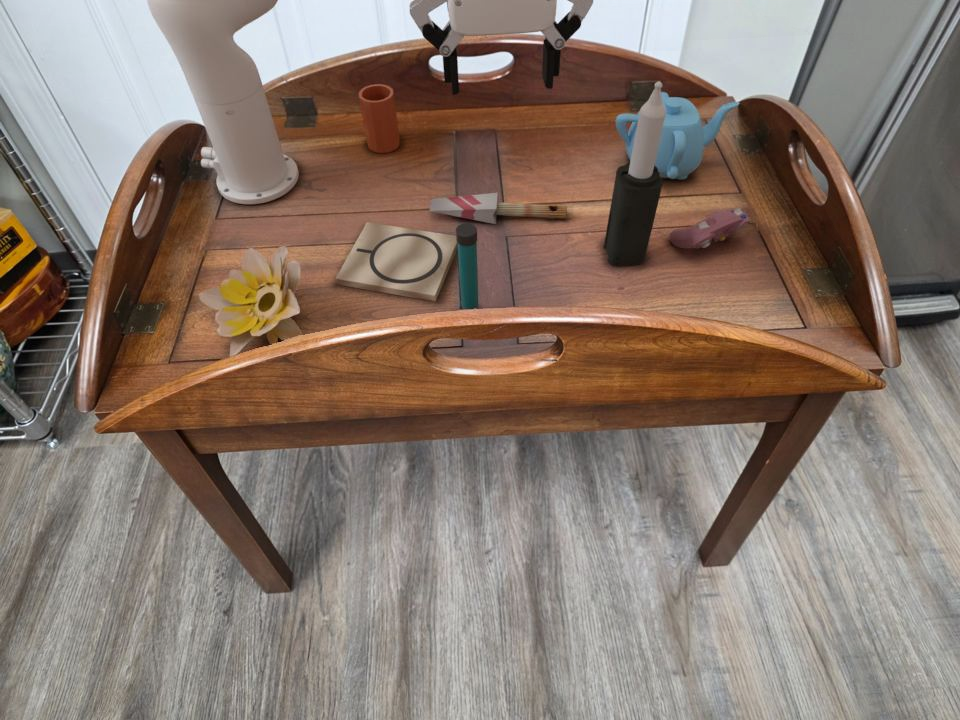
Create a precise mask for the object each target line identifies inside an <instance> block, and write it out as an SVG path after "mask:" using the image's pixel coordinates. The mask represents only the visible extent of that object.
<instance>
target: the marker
mask: <svg viewBox="0 0 960 720" xmlns="http://www.w3.org/2000/svg"><path fill="white" fill-rule="evenodd" d="M455 236H456V240H457V243H458V248H457V257H458V273H459V288H460V304H461V309H462V310H463V309H474V308H477V309H479V305H480V304H479V303H480V302H479V278H478V277H479V276H478V275H479V274H478V246H477V244H478V243H477V242H478V228H477V226H476V225H475V224H473V223H470V222H463V223H461V224H459V225H457V227H456V228H455Z"/></svg>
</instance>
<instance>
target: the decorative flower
mask: <svg viewBox="0 0 960 720" xmlns="http://www.w3.org/2000/svg"><path fill="white" fill-rule="evenodd" d="M288 254H289V250H288V247H287V246H285V245H280V246H278V247H277V249H276V250H275V251H274V252H273V254H272V255H271V259H270V261H269V263H268V260H267V259H266V258H265V257H264V256H263V255H262V254H261V253H259V251H257V250H256V249H255V248H253V247H249V248H248V249H247V250H246V252H245V253H244V254H243V255H242V258H241V263H240V265H241V269H237V268H236V269H234V268H232V269H231V270H230V271H229V273H228V278H225V279H224V280H223V281H222V282H220V284H219V286H216V287H213V288H210V289H206V290H204V291H201V292H199V293H198V297H199V301H200V302H202V303H203V305H205V306H207V307H209V308H211V309H213V310H215V311H217V312H216V313H215V318H214V322H215V323H216V324H217V325H218V327H217V329H216V332H217V334H218V336H219V337H225V338H226V337H230V345H229V346H230V347H229V358H230V357H231V356H233V355H236V354H237V355H239V353H241V352H242V351H243V350H244V349H245V348H246V347H247V346H248V345H249V344H250V343H251V341H252V340H253V339H254V338H255V337H260V336H262V335H264V334H265V335H266V338H267V341H268V343H269V344H270V345H271V344H272V343H275V342H277V343H278V340H279V339H280V340H281V341H284V340H285V339H288V338H292V337H295V336H298V335H302V334H303V332H302V330H301V328H300V327H299V326H298V324H297V323H296V321H295V320H293V318H291V317H293V316H296V315H298V314H300V312H301V309H300V305H299V302H298V299H297V297H298V296H297V295H295V294H294V293H296V290H297V289H298V286H299V284H300V281H301V280H300V279H301V265H300V262H298V261H296V260H295V259H293V260H290V261H289V262H288V263H286V261H287V257H288ZM237 355H236V356H237Z"/></svg>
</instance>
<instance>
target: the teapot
mask: <svg viewBox="0 0 960 720" xmlns="http://www.w3.org/2000/svg"><path fill="white" fill-rule="evenodd" d="M661 96H662V103H663V105H664V107H665V109H666V115H665V120H664V124H663V129H662V133H661V138H660V142H659V147H658V151H657V156H656V160H655V166H656V167H657V168H658V172H659V173H660V174H659V175H660V177H661V179H672V180H675V179H677V180H685V179H688V176H689V175H690V174H691V173H693V172H694V171H695V170H696V169H697V168H699V166H700V165H701V163H702V159H703V156H704V148H706V147H707V146H709V145H711V144H712V143H713V141H715V139H716V138H717V136H718V135H719V132H720V131H721V127H722V124H723V123H724V119H725V118H726V116H727V115H728V113H729V112H731V111H732V110H733V109H735V108H736V107H738V106H739V105H740V101H730V102H727V103H725V104H722V106H720V107H719V108H718V110H716V112H715V114H714V115H713V117H711V118H712V119H710V121H708V123H707V124H705V125H703V124H702V120H701V116H700V113H699V110H698V108H697V107H696V106H695V105H694V103H692V102H691V101H690V100H689V99H686V98H684V97H678V96H669V94H668V93H667V92H665V91H661ZM639 113H640V110H638V112H637V113H625V112H624V113H620V114H618V115H617V116H616V118H615V128H616V130H617V132H618V134H619V135H620V137H621V139H622V140H623V141H624V143H625V150H626V155H627V157H628V158H629V160H630V161H631V156H632V150H633V145H634V140H635V135H636V129H637V124H638V119H639ZM627 123H631V124H630V126H629V129H628V130H627ZM630 161H629V162H630Z"/></svg>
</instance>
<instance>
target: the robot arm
mask: <svg viewBox="0 0 960 720" xmlns="http://www.w3.org/2000/svg"><path fill="white" fill-rule="evenodd" d="M278 1H279V0H146V2H147V6H148V9H149V11H150V14H151V15H152V18H153V19H154V21H155V23H156V25H157V27H158V28H159V30H160V31H161V33H162V35H163V36H164V38H165V40H166V41H167V43H168V45H169V46H170V48H171V50H172V52H173V54H174V56H175V57H176V60H177V62H178V64H179V66H180V68H181V71H182V73H183V75H184V77H185V80H186V83H187V86H188V87H189V90H190V93H191V95H192V97H193V100H194V104H195V105H196V107H197V111H198V112H199V115H200V118H201V120H202V123H203V125H204V128H205V130H206V133H207V136H208V139H209V141H210V142H211V146H212V147H210V146H209V147H208V146H203V147H201V150H200V155H201V160H200V167H201V168H204V169H213V170H214V171H216V174H217V176H216V182H215V183H216V187H217V189H218V192H219V194H220V195H221V196H222V197H223V198H224V199H226V200H228V201H230V202H232V203H235V204H240V205H260V204H264V203H268V202H271V201H272V202H273V201H274V200H276V199H279V198H281V197H283V196H284V195H286V194H288V193H289V192H290V191H291V190H292V189H293V188H294V187H295V185H296V184H297V182H298V179H299V176H300V172H299V168H298V164H297V162H295V160H294V159H292V158H291V157H290V156H288V155H286V154H284V152H283V150H282V146H281V143H280V139H279V135H278V133H277V129H276V125H275V122H274V119H273V115H272V111H271V109H270V106H269V103H268V102H269V101H268V99H267V96H266V92H265V88H264V85H263V82H262V79H261V76H260V75H261V74H260V72H259V68H258V67H257V65H256V62H255V61H254V59H253V58H252V57H251V55H249V53H248V52H247V51H246V50H244V49H243V48H242V47H241V46H239V45H238V44H237V43H236V42H235V39H234V35H235V34H236V33H237V32H239V31H240V30H241V29H243V28H244V27H247V25H249V24H251V23H252V22H254V21H256V20H258V19H259V18H261V17H262V16H264V15H266V14H268V13H269V12H270V11H271V10H272V9H273V8H275V6H276V4H278ZM557 1H558V0H412V1H411V2H410V3H409V14H410V16H411V19H412V20H413V21H414V23H415V25H416V26H417V28H418V29H419V30H420V33H422V37H423V38H424V39H425V40H426V41H427V42H428V43H429V44H431V45H432V46H433V47H434V48H435V49H436V50H437V51H439V55H441V57H442V65H443V66H442V67H443V82H444V84H451V85H450V87H451V94H452V96H458V94H460V83H459V82H460V81H459V64H458V63H459V62H458V52H457V46H458V45H459V44H460V43H461V41H463V39H464V37H481V36H483V37H484V36H499V35H501V36H503V35H515V34H530V33H539V32H541V34H542V35H543V36H544V37H545V39H543V41H542V42H543V44H542V64H541V76H542V81H543V85H544V88H546V89H547V90H552V89H553V88H554V77H559V76H560V67H561V53H562V52H561V51H562V49H564V48H565V47H566V43H567V41H569V40H570V38H572V36H573V35H574V34H576V32H577V31H578V30H580V28H581V26H582V22H583V21H584V19H585V18H586V17H587V15H588V13H589V11H590V10H591V8H592V6H593V4H594V0H567V2H570V3H571V4H572V6H571V9H570V11H569V12H567V13H566V14H565V15H564V16H563V17H562V18H561V20H560V21H558V22H557V21H556V15H557V5H558V3H557ZM445 3H446V7H447V12H448V13H447V14H448V18H449V20H448V21H447V23H446V24H445V25H444V27H443V28H441V27H440V26H439V25H438V24H437V23H435V21H433V20H432V19H431V17H430V15H429V13H430V12H433V11H434V10H435V9H437V8H439V7H440V6H442V5H443V4H445Z"/></svg>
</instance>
